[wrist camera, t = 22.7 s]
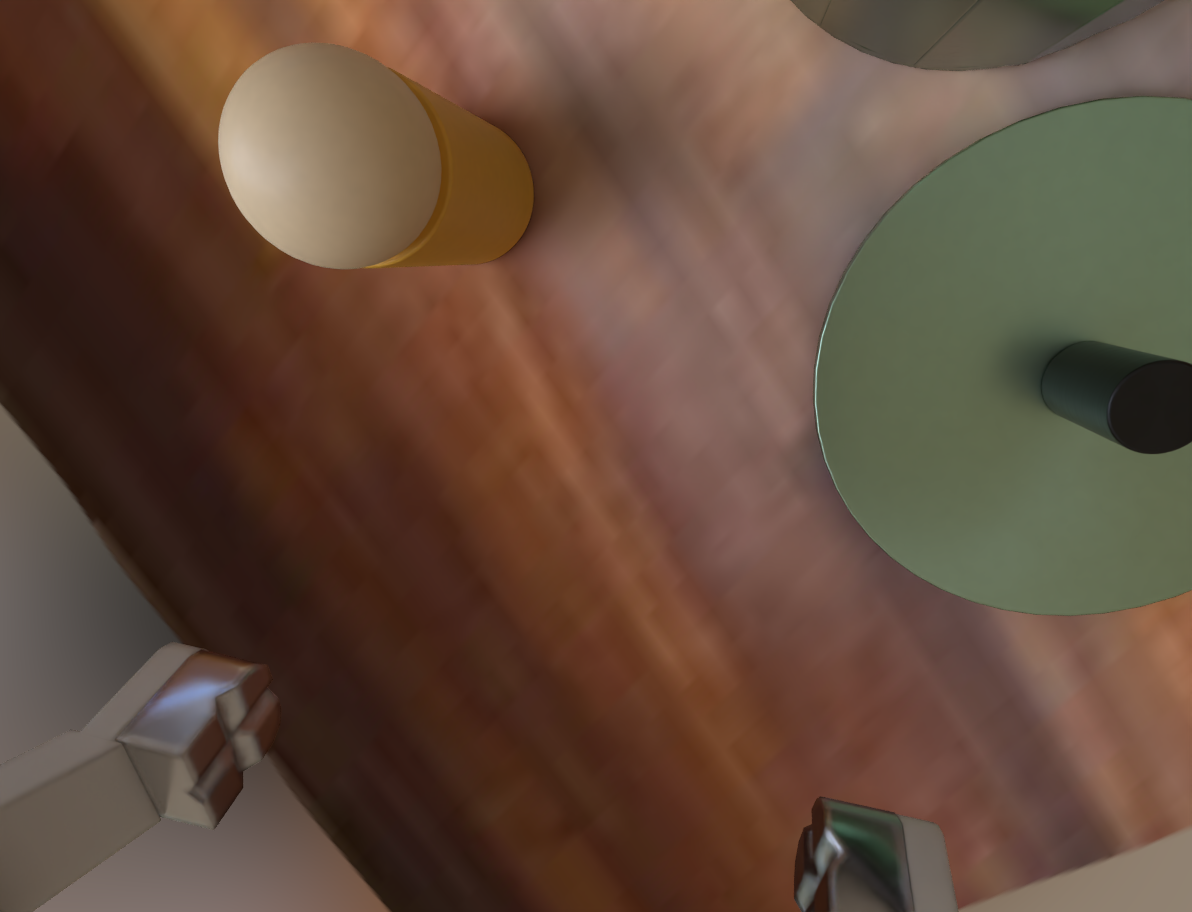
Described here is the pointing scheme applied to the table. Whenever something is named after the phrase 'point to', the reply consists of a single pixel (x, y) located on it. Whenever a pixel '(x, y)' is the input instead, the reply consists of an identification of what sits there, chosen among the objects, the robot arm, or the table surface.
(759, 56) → the table surface
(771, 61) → the table surface
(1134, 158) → the lid
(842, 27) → the pot
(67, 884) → the robot arm
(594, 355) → the table surface
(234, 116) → the toy
